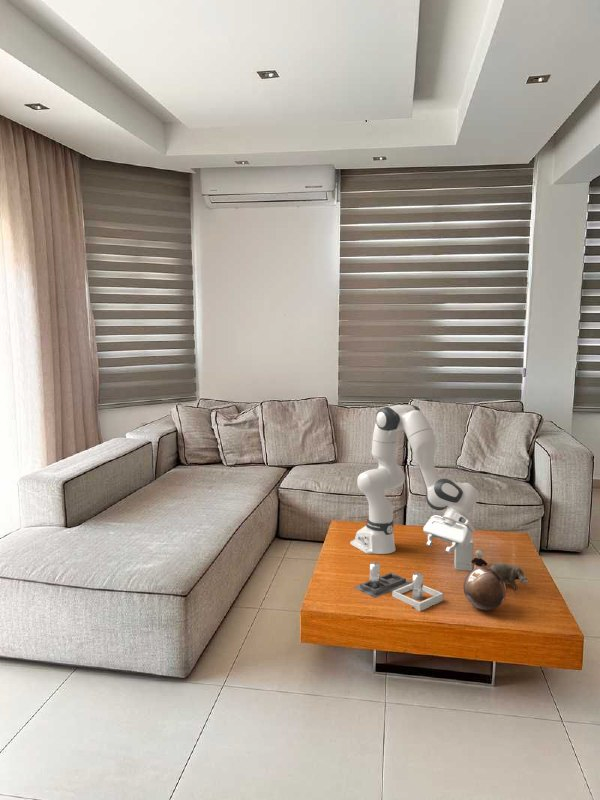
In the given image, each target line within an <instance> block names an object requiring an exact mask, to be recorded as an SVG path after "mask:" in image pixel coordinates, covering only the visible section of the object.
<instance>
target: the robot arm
mask: <svg viewBox="0 0 600 800" xmlns="http://www.w3.org/2000/svg"><path fill="white" fill-rule="evenodd" d="M373 428H374V429H373V434H372V442H371V443H372V445H371V446H372V447H371V456H372V457H373V459H374V460H376V461H377V463H378V467H377V468H372V469H367V470H365V471H364V472H361V473H359V475H358V476H357V480H356V485H357V488H358V490H359V491H360V492H361V493H362V494H364V496H365V497H366V499H367V503H368V518H366V519H365V520H364V523H366V524H365V525H364V526H363V527H361V528H360V529H359V530H357V532H355V538H354V539H352V540H350V544H349V545H351V546H353V547H355V548H356V549H358V550H360V551H361V552H363V553H365V554H367V555H368V554H369V555H370V554H374V555H375V554H376V555H377V554H378V555H386V554H387V555H388V554H392V553H394V552H396V550H397V549H396V543H395V538H394V528H395V527H394V524H395V523H394V517H393V515H394V514H393V513H394V507H393V503H392V501H391V500H390V499H389V498H386V493H385V492H387V491H391V490H396V489H397V488H399V487H402V486H403V484H404V483H405V480H406V475H405V472H404V470H403V468H401V467H400V466H399V464H398V461H397V444H398V443H397V441H398V432H399V431H402V430H403V432H404V433H405V435H406V438H407V440H408V443H409V445H410V447H411V449H412V452H413V455H414V457H415V459H416V462H417V465H418V468H419V471H420V475H421V478H422V480H423V483H424V485H425V491H426V492H425V493H426V494H425V499H426V503H427V505H428V506H429V507H430V508H431V509H433V510H435V511H444V510H445V512H444V514H443V516H442V515H438V514H435V515H431V516H430V518H429V519H428V520H427V522H426V524H424V525H423V529H422V530H423V533H424V534H425V535H426V536H427V542H426V544H425V545H426V546H427V547H428V548H429V547H430V548H432V546H433V544H434V543H433V542H432V540H434V539H438V540H440V541H444V542H447V543H450V544H451V546H447V547H446V549H445V552H446V553H447V554H452V552H453V551H455V549H456V548H457V546H461V547H467V546H468V545H469V543H470V541H471V538H472V539H473V533H474V532H475V530H476V529H475V527H474V525H473V524H472V523H471V521H470V520H469V516H470V514H471V513H472V511H473V510H474V507H475V506H476V504H477V501H478V498H479V492H478V491H479V490H477V489H476V487H475V486H474V485H473V484H471V483H470V482H458V481H453V480H450V479H448V478H440V479H439V476H438V473H437V470H436V467H435V455H436V451H437V439H436V436H435V432H434V431H433V429H432V426H431V424H430V423H429V421H428V419H427V417H426V416H425V414H424V413H423V412H422V411H421V409H420V408H419V407H418V406H417V405H414V404H398V405H392V406H384V407H382V408H379V409H378V411H377V412H376V414H375V424H374V427H373Z"/></svg>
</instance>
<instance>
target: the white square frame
mask: <svg viewBox="0 0 600 800" xmlns="http://www.w3.org/2000/svg"><path fill="white" fill-rule="evenodd" d="M409 591H412V583H411V584H408V585H406V586H403V587H401V588H398V589H396V590H393V591H391V596H392V597H393V598H395V599H398V600H399V601H401V602H403V603H406V604H408V605H410V606H412V608H411V609H413V608H414V609H413V610H416V611H418V612H421V611H424V610H426V609H428V608H431V607H432V605H433V606H435V605H437V604H439V603H442V602H443V601H444V592H441V591H438V590H437V589H434V588H431V587H428V586H426V585H424V584H423V593H426V594H428V595H431V597H428V598H426V599H424V600H421V601H418V600H416V599H413V598H412V597H409V596H407V595H404V593H406V592H409ZM441 601H442V602H441ZM430 606H431V607H430Z"/></svg>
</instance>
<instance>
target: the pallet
mask: <svg viewBox="0 0 600 800" xmlns="http://www.w3.org/2000/svg"><path fill="white" fill-rule="evenodd" d="M411 583H413V581H411V580H408V579H406V577H403V576H400V575H398V574H396V573H394V572H389V573H386V574H384V575H380V588H377V589H373V588H371V587H370V580H368V581H365V582H363V583H360V584H359V585H356V586H354V587H353V589H355V590H357V591H359V592H362V593H364V594H366V595H368V596H369V597H372V598H374V599H376V598H378V597H380V596H383V595H386V594H388V593H392V591H394V590H397V589H399V588H402V587H404V586H406V585H409V584H411Z"/></svg>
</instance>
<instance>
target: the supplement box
mask: <svg viewBox="0 0 600 800" xmlns="http://www.w3.org/2000/svg"><path fill="white" fill-rule="evenodd" d="M473 554H474V540H473V537H472V538H471V541H470V543H469V545H468V546H467V547H461V546H457V548H456V549H454V561H453V564H454V570H457V571H467V572H468V571H469V572H471V571H473V567H474V563H473V564H472V566H470V564H471V561H472V560H473V559H474V558H473V557H474V555H473Z"/></svg>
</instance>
